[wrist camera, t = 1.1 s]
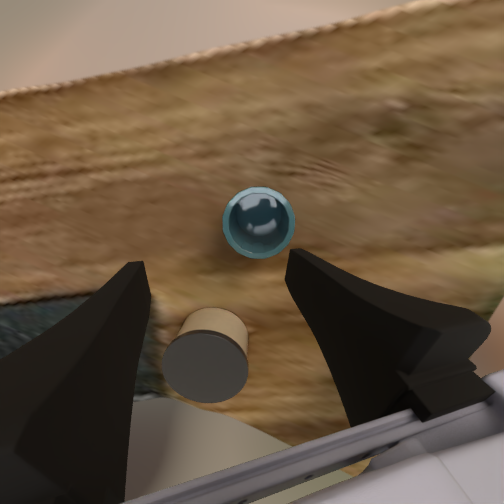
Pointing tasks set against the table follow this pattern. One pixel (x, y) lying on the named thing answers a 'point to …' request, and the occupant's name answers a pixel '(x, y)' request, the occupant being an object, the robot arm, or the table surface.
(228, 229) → the cup
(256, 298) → the table surface
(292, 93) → the table surface
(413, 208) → the table surface
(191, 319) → the jar
